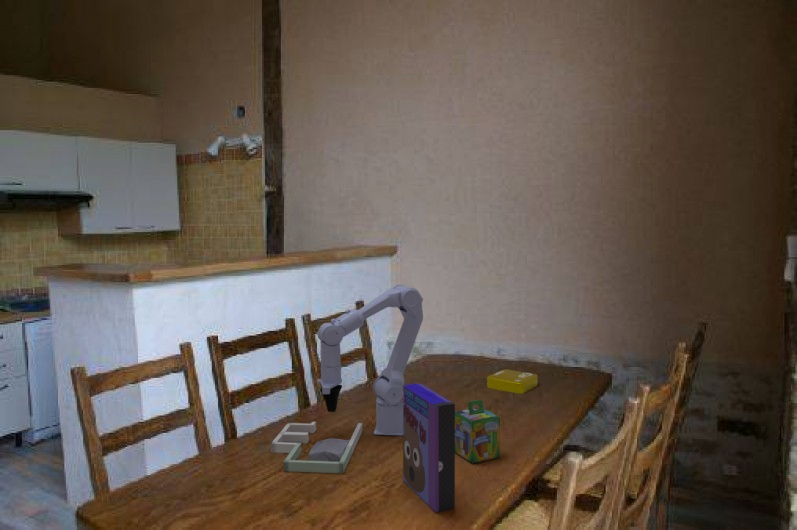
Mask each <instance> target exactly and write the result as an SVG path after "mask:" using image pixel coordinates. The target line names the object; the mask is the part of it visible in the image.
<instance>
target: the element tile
mask: <svg viewBox="0 0 797 530" xmlns="http://www.w3.org/2000/svg"><path fill="white" fill-rule="evenodd" d="M486 381H487V382H486V387H487V388H488V389H494V390H499V391H503V392H508V393H512V394H513V393H514V394H524V393H527V392H529V391H530V390H532V389H534V388H536V387H537V386H538V375H537V374H535V373H530V372H523V371H517V370H513V369H506V368H505V369H502V370H499V371H496V372H494V373H493V374H490V375H488V376H487V377H486Z"/></svg>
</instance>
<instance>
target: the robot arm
mask: <svg viewBox="0 0 797 530" xmlns="http://www.w3.org/2000/svg"><path fill="white" fill-rule="evenodd" d="M423 301H424V299H423V297H422V295H421V293H420V292H419V290H418V289H417V288H414V287H409V286H405V285H403V284H396V285H395V286H393V287H392V288H389V289H386V291H384V292H383V293H381V294H380V295H379V296H377V297H376V298H374V299H373V300H371V301H370V302H368V303H367V304H365V305H364V306H362V307H361V308H359V309H355V308H352V309H350V308H348V309H345V310H344V312H345V313H343V314H342V315H340V316H338V317H336V318H332V319H330V322H324V323H323V324H321V326H319V328H318V331H317V333H316V335H317V338H318V339H319V340H320V343H319V344H320V352H319V353H320V378H319V379H317V381H316V383H317V384H320V385H321V388H320V393H321V395H322V396H323V399H324V401H325V406H326V409H327V412H329V413H335V412H336V410H337V407H338V402H339V396H340V394H341V391H342V388H343V385H342V382H343V379H342V366H341V365H342V363H341V359H342V358H341V342H342V341H343V339H344V338H345V337H346V336H349V334H351V333H353V332H355V331H356V330H358V329H360V328H361V327H363V326H364V322H365V320H366V319H368V318H370V317H372V316H374V315H376V314H378V313H380V312H381V311H383V310H384V309H387V308H398V309H399V311H400V313H401V315H402V317H403V321H402V324H401V326H400V327H401V328H399V333H398V335H397V338H396V340H395V343H394V347H393V348H392V352H391V354H390V357H389V360H388V363H387V365H386V367H385V368H384V369H382V371H380V375H379V376H378V378H377V379H375V381H374V382H373V387H372V389H373V392H374V394H375V395H376V399H375V402H376V406H375V407H376V408H375V409H376V410H375V411H376V421H375V422H376V426H375V429H374V431H373V435H376V436H378V435H381V436H403V401H402V400H403V386H405V376H404V373H405V369H406V368H407V364H408V361H409V359H410V356H411V354H412V351H413V348H414V345H415V343H416V339H417V336H418V334H419V332H420V329H421V326H422V323H423V320H424V313H423V312H424V311H423V304H422V303H423Z"/></svg>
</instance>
